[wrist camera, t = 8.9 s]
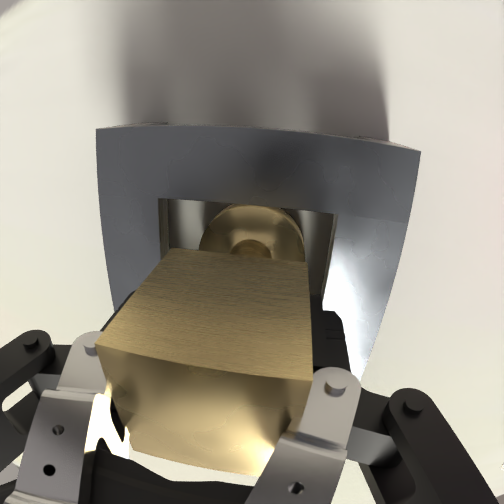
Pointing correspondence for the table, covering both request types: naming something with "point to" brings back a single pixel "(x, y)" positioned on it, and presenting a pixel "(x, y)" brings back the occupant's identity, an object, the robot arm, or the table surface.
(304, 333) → the brass peg
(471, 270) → the table surface
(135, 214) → the keyhole plate
